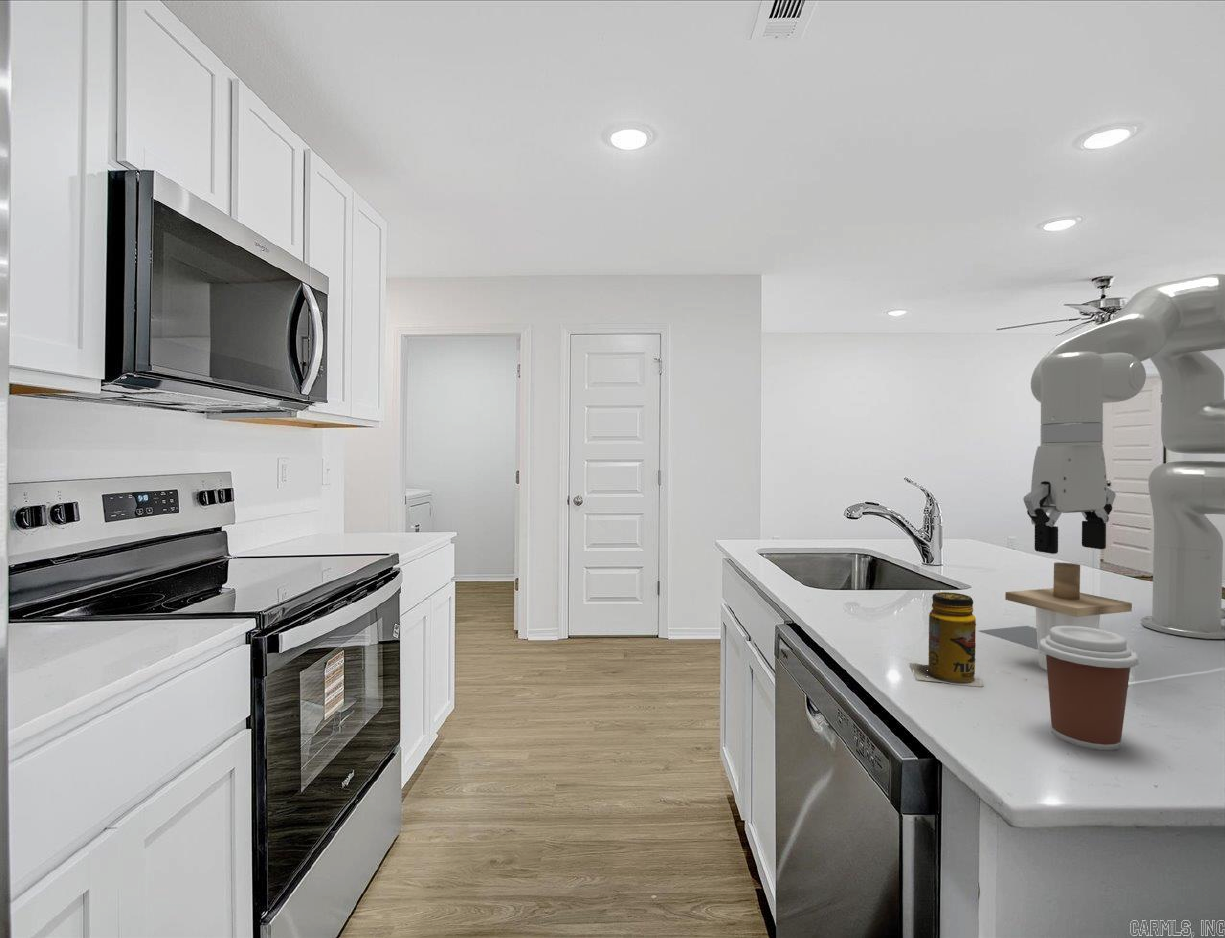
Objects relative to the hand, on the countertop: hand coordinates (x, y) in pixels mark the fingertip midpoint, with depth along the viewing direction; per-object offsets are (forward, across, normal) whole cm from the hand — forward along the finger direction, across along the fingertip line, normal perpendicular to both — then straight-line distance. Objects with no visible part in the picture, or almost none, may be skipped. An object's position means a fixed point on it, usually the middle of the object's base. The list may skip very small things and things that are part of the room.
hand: (1070, 550), depth 94 cm
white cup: (+18, +1, 0) cm, 19 cm away
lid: (+8, +1, 0) cm, 8 cm away
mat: (+19, -10, -14) cm, 25 cm away
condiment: (+18, +20, -4) cm, 27 cm away
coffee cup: (+18, +21, +17) cm, 33 cm away
